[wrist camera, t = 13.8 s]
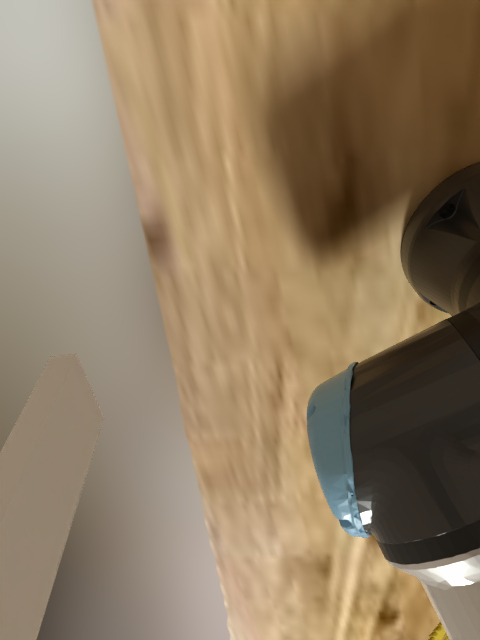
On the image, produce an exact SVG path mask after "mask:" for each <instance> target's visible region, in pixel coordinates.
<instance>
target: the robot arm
mask: <svg viewBox="0 0 480 640" xmlns="http://www.w3.org/2000/svg"><path fill="white" fill-rule="evenodd" d="M401 262H402V267H403V271H404V273H405V276H406V278H407V280H408V281H409V283H410V284H411V286H412V287H413V288H414V290H415V291H416V292H417V294H418V295H419V296H420V297H421V298H422V299H423V300H424V301H425V302H427V303H428V304H429V305H431V306H433V307H434V308H436V309H438V310H441V311H443V312H446V313H449V314H450V315H451V316H452V317H450V318H448V319H445V320H443V321H441V322H439V323H437V324H435V325H433V326H431V327H430V328H428V329H426V330H424V331H422V332H420V333H418V334H416V335H414V336H412V337H410V338H408V339H406V340H404V341H402V342H400V343H398V344H396V345H394V346H392V347H390V348H388V349H386V350H384V351H382V352H380V353H378V354H376V355H374V356H372V357H370V358H368V359H366V360H364V361H362V362H360V363H358V362H354V363H352V364H351V365H349V367H348V369H346V370H344V371H343V372H341V373H339V374H337V375H336V376H334V377H332V378H330V379H329V380H327V381H325V382H323V383H322V384H320V385H319V386H318V387H317V388H316V389H315V390H314V391H313V393H312V395H311V397H310V399H309V402H308V407H307V431H308V439H309V445H310V450H311V454H312V458H313V462H314V466H315V470H316V473H317V476H318V479H319V482H320V485H321V488H322V490H323V493H324V495H325V498H326V500H327V502H328V504H329V507H330V509H331V511H332V512H333V514H334V516H335V517H336V518H337V519H339V521H340V524H341V527H342V528H343V529H344V530H345V531H346V532H347V533H348V534H349V535H351V536H354V537H362V538H367V537H369V536H371V535H372V534H373V535H374V537H375V539H376V540H377V542H378V544H379V546H380V548H381V551H382V553H383V555H384V557H385V559H386V560H387V562H388V563H389V564H390V565H391V566H393V567H395V568H397V569H399V570H401V571H404V572H406V573H408V574H410V575H413V576H415V577H416V578H417V579H419V580H420V582H421V584H422V586H423V588H424V590H425V592H426V594H427V596H428V598H429V600H430V602H431V604H432V606H433V608H434V610H435V612H436V614H437V616H438V618H439V620H440V622H441V624H442V626H443V628H444V630H445V632H446V634H447V636H448V638H449V640H480V163H477V164H474V165H472V166H469V167H467V168H465V169H463V170H461V171H459V172H457V173H456V174H454V175H452V176H451V177H449V178H448V179H446V180H445V181H444V182H442V183H441V184H440V185H439V186H437V187H436V188H435V189H434V190H433V191H432V192H431V193H430V194H429V195H428V196H427V197H426V198H425V199H424V201H423V202H422V203H421V204H420V206H419V207H418V208H417V210H416V211H415V213H414V214H413V216H412V218H411V220H410V222H409V224H408V226H407V228H406V231H405V234H404V237H403V241H402V248H401ZM103 420H104V417H103V415H102V412H101V410H100V408H99V405H98V403H97V401H96V399H95V396H94V394H93V391H92V389H91V387H90V384H89V382H88V380H87V377H86V375H85V373H84V370H83V368H82V366H81V363H80V361H79V359H78V356H77V354H68V355H59V356H51V357H50V359H49V361H48V363H47V365H46V366H45V369H44V370H43V372H42V374H41V376H40V378H39V380H38V382H37V384H36V386H35V388H34V390H33V392H32V393H31V395H30V397H29V399H28V401H27V403H26V405H25V407H24V408H23V411H22V412H21V414H20V416H19V418H18V420H17V422H16V424H15V426H14V428H13V429H12V431H11V433H10V435H9V437H8V439H7V441H6V443H5V445H4V447H3V449H2V450H1V452H0V640H36V639H37V636H38V632H39V629H40V626H41V622H42V619H43V616H44V613H45V610H46V606H47V603H48V600H49V596H50V593H51V589H52V587H53V583H54V580H55V577H56V574H57V570H58V567H59V563H60V560H61V557H62V554H63V551H64V547H65V544H66V541H67V538H68V534H69V531H70V528H71V524H72V521H73V518H74V515H75V511H76V508H77V505H78V502H79V498H80V495H81V492H82V488H83V485H84V482H85V479H86V475H87V472H88V469H89V465H90V462H91V459H92V456H93V452H94V449H95V446H96V443H97V439H98V436H99V433H100V430H101V426H102V423H103Z"/></svg>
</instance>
